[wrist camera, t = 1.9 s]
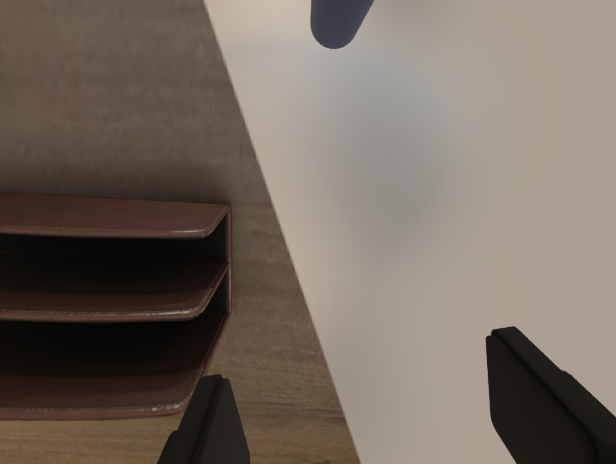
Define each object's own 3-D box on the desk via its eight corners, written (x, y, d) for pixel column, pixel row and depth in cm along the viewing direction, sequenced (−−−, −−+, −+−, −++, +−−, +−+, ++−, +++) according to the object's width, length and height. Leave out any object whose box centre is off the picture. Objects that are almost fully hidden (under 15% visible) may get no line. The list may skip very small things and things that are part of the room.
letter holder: (233, 312, 34) (185, 438, 20) (6, 303, 33) (-198, 424, 20) (233, 202, 31) (177, 261, 18) (-13, 190, 31) (-265, 241, 17)
